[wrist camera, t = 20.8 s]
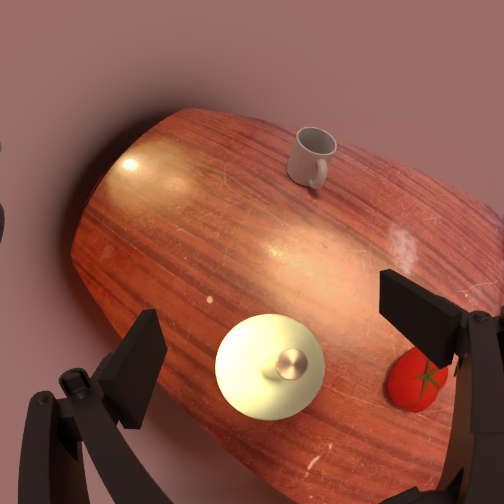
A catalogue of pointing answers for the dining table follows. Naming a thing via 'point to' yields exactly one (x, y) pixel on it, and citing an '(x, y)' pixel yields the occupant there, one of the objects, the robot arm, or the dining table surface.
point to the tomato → (415, 381)
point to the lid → (269, 367)
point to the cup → (311, 157)
